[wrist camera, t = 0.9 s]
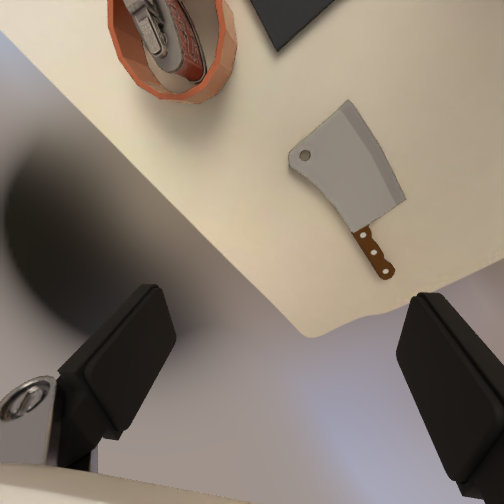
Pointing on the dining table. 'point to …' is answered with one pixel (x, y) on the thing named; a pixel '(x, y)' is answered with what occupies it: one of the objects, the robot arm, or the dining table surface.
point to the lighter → (169, 36)
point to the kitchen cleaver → (351, 176)
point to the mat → (287, 17)
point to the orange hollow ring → (137, 66)
